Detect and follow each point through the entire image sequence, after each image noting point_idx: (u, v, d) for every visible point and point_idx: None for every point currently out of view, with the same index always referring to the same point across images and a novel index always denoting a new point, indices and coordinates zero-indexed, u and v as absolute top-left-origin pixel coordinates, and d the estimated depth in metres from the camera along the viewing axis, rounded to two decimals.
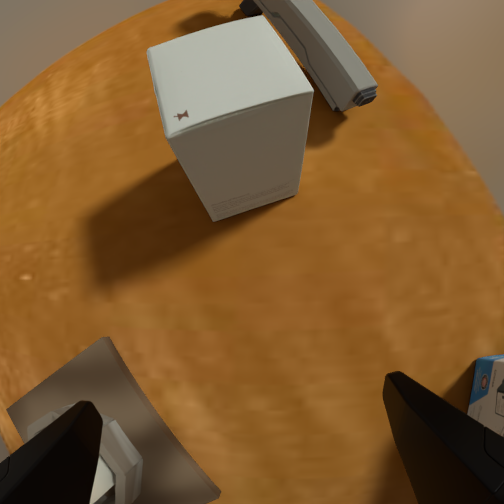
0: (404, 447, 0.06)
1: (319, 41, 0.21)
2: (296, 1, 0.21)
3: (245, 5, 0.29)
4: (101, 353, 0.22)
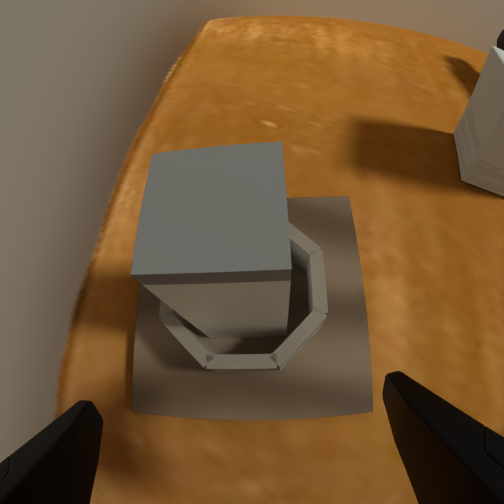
0: (404, 447, 0.06)
1: None
2: None
3: None
4: (340, 207, 0.24)
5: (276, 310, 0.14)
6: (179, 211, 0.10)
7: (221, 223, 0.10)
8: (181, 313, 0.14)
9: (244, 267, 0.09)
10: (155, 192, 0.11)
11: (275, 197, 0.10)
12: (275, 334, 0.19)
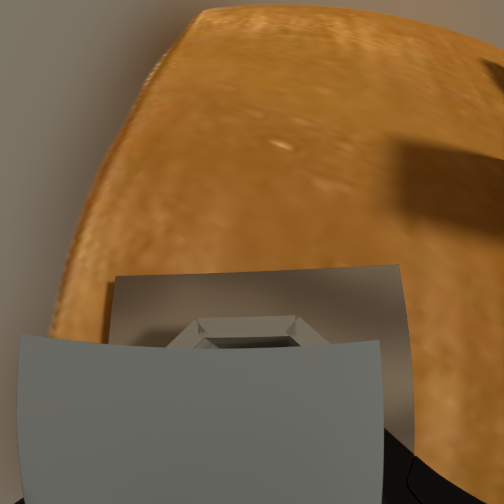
0: None
1: None
2: None
3: None
4: (387, 283, 0.16)
5: None
6: None
7: None
8: None
9: None
10: (38, 461, 0.03)
11: None
12: None
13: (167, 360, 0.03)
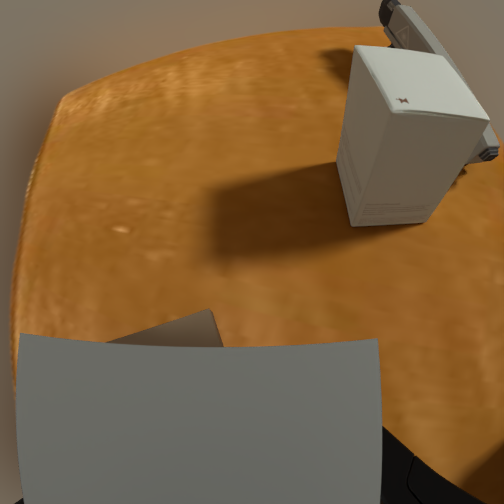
0: None
1: None
2: None
3: None
4: (202, 326, 0.22)
5: None
6: None
7: None
8: None
9: None
10: (37, 459, 0.03)
11: None
12: None
13: (165, 359, 0.03)
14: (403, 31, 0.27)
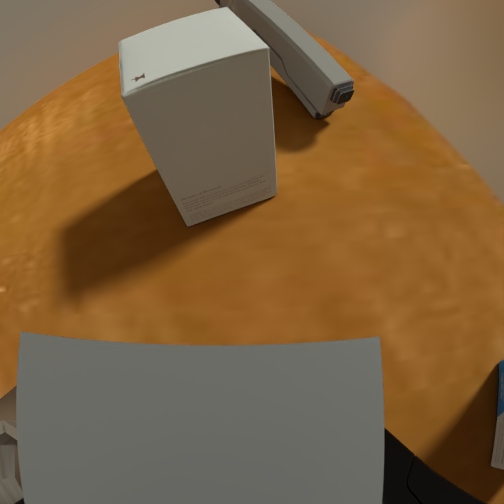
0: None
1: (293, 45, 0.22)
2: (270, 14, 0.23)
3: None
4: None
5: None
6: None
7: None
8: None
9: None
10: (38, 458, 0.03)
11: None
12: None
13: (167, 357, 0.03)
14: (231, 3, 0.26)
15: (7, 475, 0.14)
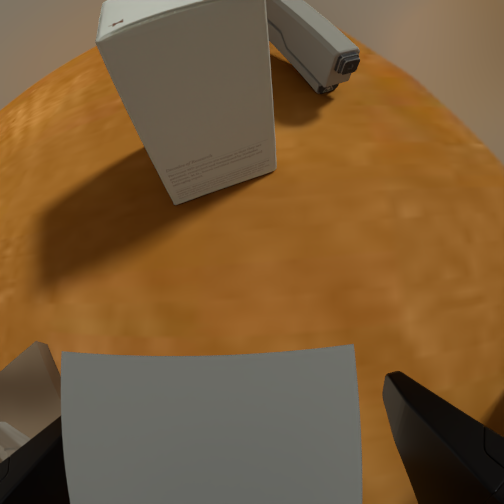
0: (404, 447, 0.06)
1: (293, 15, 0.19)
2: None
3: None
4: (33, 361, 0.15)
5: None
6: None
7: None
8: None
9: None
10: (83, 457, 0.04)
11: (339, 500, 0.03)
12: None
13: (192, 365, 0.05)
14: None
15: None
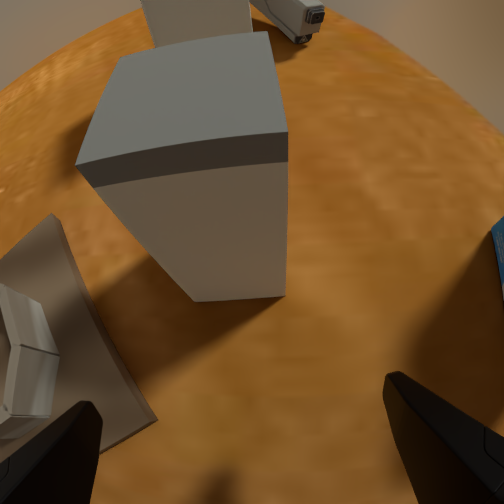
0: (404, 447, 0.06)
1: None
2: None
3: None
4: (46, 229, 0.19)
5: (271, 238, 0.11)
6: (143, 94, 0.07)
7: (194, 96, 0.07)
8: (151, 251, 0.11)
9: (222, 133, 0.06)
10: (118, 84, 0.08)
11: (261, 69, 0.07)
12: (272, 292, 0.16)
13: (191, 42, 0.08)
14: None
15: None
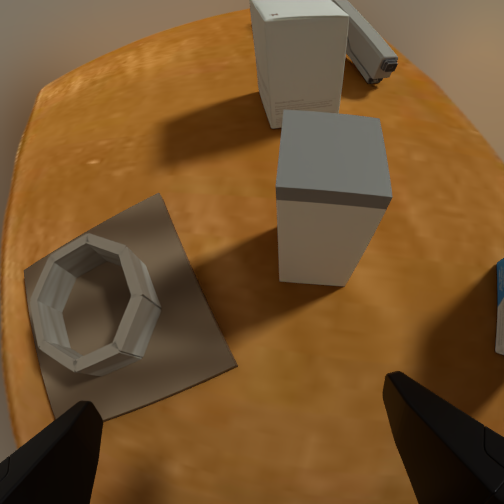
0: (404, 447, 0.06)
1: (358, 28, 0.29)
2: (343, 5, 0.29)
3: None
4: (153, 205, 0.26)
5: (358, 245, 0.17)
6: (311, 150, 0.14)
7: (344, 162, 0.13)
8: (280, 241, 0.18)
9: (361, 191, 0.13)
10: (291, 135, 0.14)
11: (378, 152, 0.13)
12: (337, 282, 0.23)
13: (333, 114, 0.15)
14: None
15: (57, 306, 0.22)
